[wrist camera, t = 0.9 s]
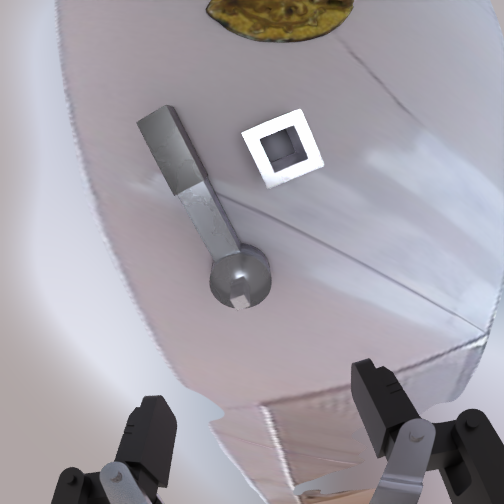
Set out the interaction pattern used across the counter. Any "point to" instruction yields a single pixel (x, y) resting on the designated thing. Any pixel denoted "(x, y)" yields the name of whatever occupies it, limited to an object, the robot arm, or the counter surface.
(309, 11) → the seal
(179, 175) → the ratchet
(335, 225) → the counter surface
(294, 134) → the hollow square tube
